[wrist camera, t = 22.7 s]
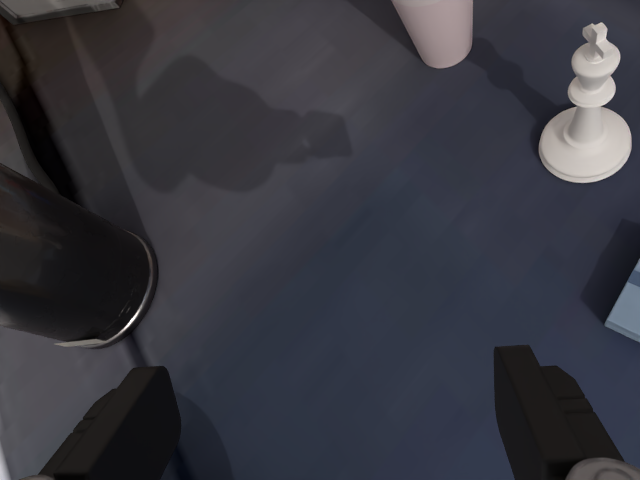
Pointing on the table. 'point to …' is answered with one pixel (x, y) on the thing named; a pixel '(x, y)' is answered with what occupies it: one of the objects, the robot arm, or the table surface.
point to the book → (51, 9)
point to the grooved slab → (627, 308)
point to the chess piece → (588, 117)
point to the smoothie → (438, 29)
